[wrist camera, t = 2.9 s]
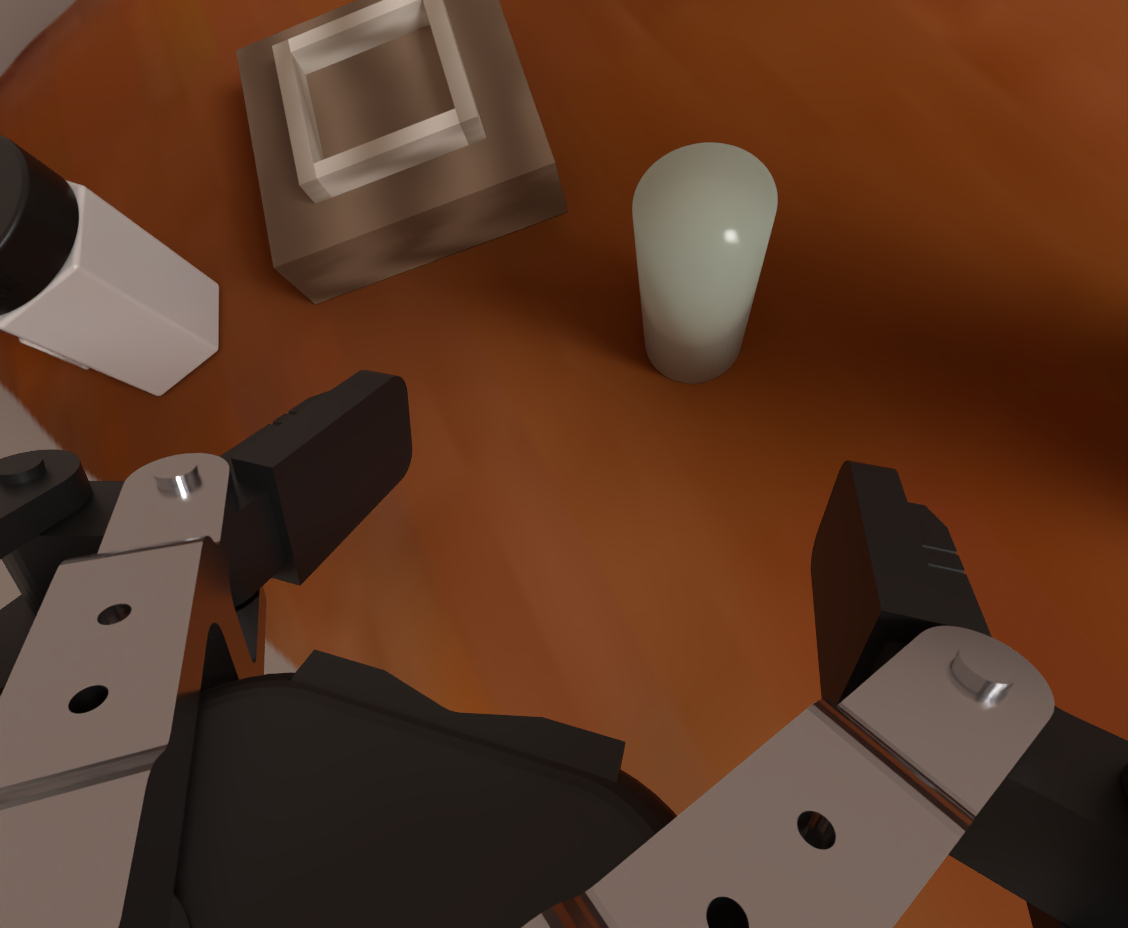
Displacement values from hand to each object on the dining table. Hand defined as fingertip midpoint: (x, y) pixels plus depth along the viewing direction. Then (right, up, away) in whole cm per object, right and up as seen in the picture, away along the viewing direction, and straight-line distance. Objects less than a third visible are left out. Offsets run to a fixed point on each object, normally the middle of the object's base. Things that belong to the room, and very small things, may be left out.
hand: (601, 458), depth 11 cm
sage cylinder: (+6, +6, +21) cm, 23 cm away
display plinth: (-10, +19, +27) cm, 35 cm away
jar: (-26, +8, +27) cm, 38 cm away
